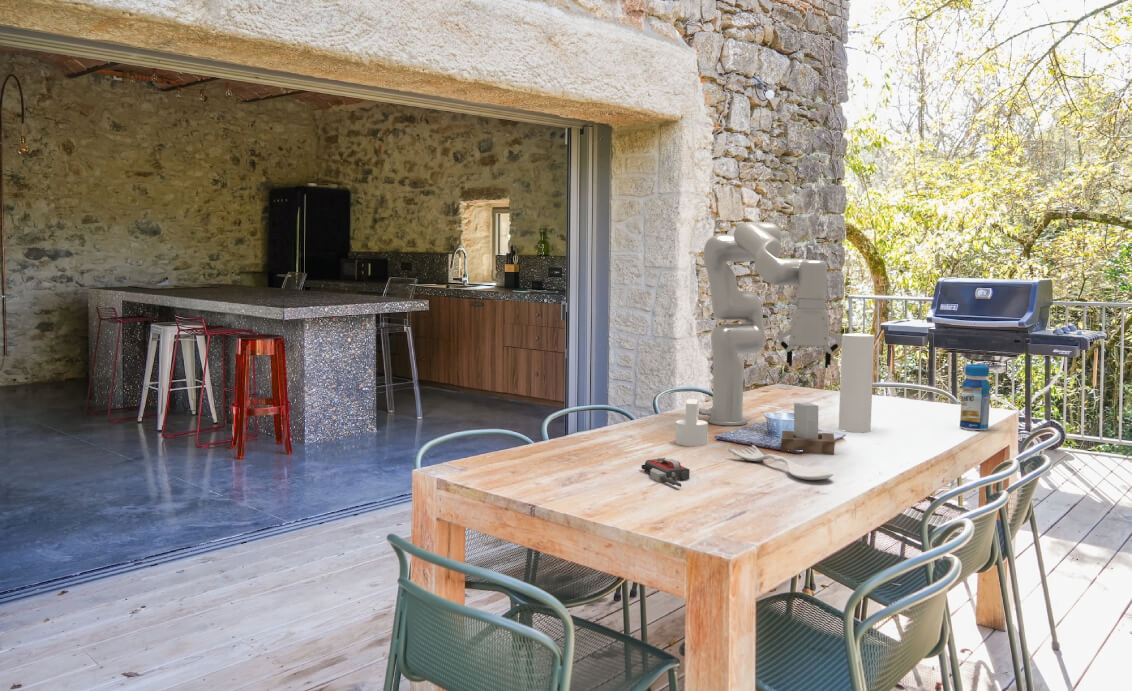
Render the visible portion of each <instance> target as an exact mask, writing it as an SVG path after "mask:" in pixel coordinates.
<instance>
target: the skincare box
mask: <svg viewBox="0 0 1132 691" xmlns="http://www.w3.org/2000/svg"><path fill="white" fill-rule="evenodd" d="M793 413H794V414H793V418H794V419H793V426H794V427H793V431H794V438H804V439H818V433H819V405H817V404H814V403H810V402H805V401H804V402H794V404H793Z"/></svg>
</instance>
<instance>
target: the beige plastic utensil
mask: <svg viewBox="0 0 1132 691" xmlns="http://www.w3.org/2000/svg"><path fill="white" fill-rule="evenodd" d="M727 451H728V452H729V453H731V454H732V455H734V456H737V457H739V458H742V459H744V460H746V461H749V462H750V461H751V462H761V461H764V460H767V459H770V460H774V461H776V462H782V463H784V464H785V465H786V467H787V470H788V473H789V474H791V475H792V476H794V477H795V478H797V479H802V480H804V481H820V480H825V479H829V478H831V477H833V476H834V473H833V472H829V471H824V470H819V469H816V468H812V467H809V466H804V465H801V464H797V463H795V462H792V461H791V460H789V459H787V458H785V457H784V456H779V455H776V454H764V453H762V451H761V450H760V449H759V448H758V447H757V446H755V445H754V444H751V447H750V446H749V447H748V448H745V450H744V449H740V450H738V449H737V448H736V449H734V448H730V447H727Z"/></svg>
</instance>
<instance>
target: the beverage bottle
mask: <svg viewBox="0 0 1132 691" xmlns="http://www.w3.org/2000/svg"><path fill="white" fill-rule="evenodd" d="M964 375H965V376H966V378H964V380H963V382H962V384H961V388H962V391H961V393H960V398H961V399H960V416H959V417H960V420H959V428H960V429H962V428H963V429H962V430H965V429H968V430H967V431H970V430H984V431H983V432H985V431H988V430H989V422H990V421H989V418H990V417H989V416H990V405H991V404H990V403H991V402H990V401H991V398H992V397H991V396H992V395H991V393H990V391H991V384H990V382H989V381H988V379H987V378H988V377H989V375H990V367H989V365H986V364H966V365H965V367H964Z"/></svg>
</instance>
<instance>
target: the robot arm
mask: <svg viewBox="0 0 1132 691" xmlns="http://www.w3.org/2000/svg"><path fill="white" fill-rule="evenodd" d="M781 241H782V233H781V230H780V228H779V226H777V224H775V223H774V222H773V223H772V222H770V221H769V222H768V221H767V222H766V221H745V222H742V223H740V224H738V225H737V226H736V228H735V229H734V231H733V234H717V235H713V236H711V237H710V238H708V239H707V241H706V242H705V244H704V247H703V262H704V266H705V269H706V272H707V275H708V279H709V289H710V300H711V307H712V313H713V316H714V318H716V319H717V320H719V321H741V322H742V323H740V324H739V323H732V324H731V323H729V324H721V325H718V326H716V327H715V328H713V330H712V332H711V336H710V343H711V351H712V359H713V366H712V367H713V371H712V372H713V373H712V376H713V377H712V378H713V379H712V406H711V408H710V407H708V408H698V415H700V416H708V417H707V421H706V422H708V424H709V423H710V424H713V425H717V426H730V427H731V426H734V427H735V426H736V427H737V426H744V425H746V424H747V423H748V419H747V418H745V417H743V410H744V409H743V404H744V402H743V401H744V371H745V370H744V365H743V363H742V361H741V359H740V357H739V356H738V355H742V354H743V355H744V354H745V355H747V354H757V353H759V352H760V351H762V350H763V348H764V347H765V342H766V338H765V337H766V335H765V334H766V333H765V326H764V317H763V308H762V302H761V299H760V298H759V296H758V294H757V293H755V292H754V291H751V290H739V289H738V284H737V276H736V274H735V272H734V270H733V269H732V268H731V267H730V265H729V264H728V262H740V263H741V262H754V267H755V270H756V273H757V274H758V275H759V276H760V277H761V278H762V279H763V280H764V281H766V282H768V283H769V284H771V285H774V286H797V298H796V299H794V300H791V306H794V307H796V309H794V310H793V312H792V318H791V326H790V329H788V330H786V331H784V332H781V333H780V334H778V335H777V340H778V342H779V344H780V345H781V346H782V348H784V350H785V351H786V364H788V366H789V367H792V365H793V349H794V347H795V346H796V347H813V348H814V347H816V348H822V347H823V348H824V350H825V351H826V352H825V353H824V354H825V357H824V368H825V369H828V367H829V366H831V360H832V359H831V355H832V353H834V352H835V351H836V350H837V349H838V348H839V346H840V344H842V337H841V336H840V335H837V334H836V333H834V332H832V331H830V319H829V318H830V316H829V311H828V310H827V309H826V299H827V294H826V293H827V278H828V277H827V276H828V264H827V262H826V261H825V260H821V259H819V260H818V259H806V258H779V257H780V255H781V252H782V244H781ZM788 336H790V337H789V338H790V344H788V343H786V341H785V338H786V337H788ZM830 338H831V339H833V340H835V342H834V344H833V345H831V346H830V345H829V342H830Z"/></svg>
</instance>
